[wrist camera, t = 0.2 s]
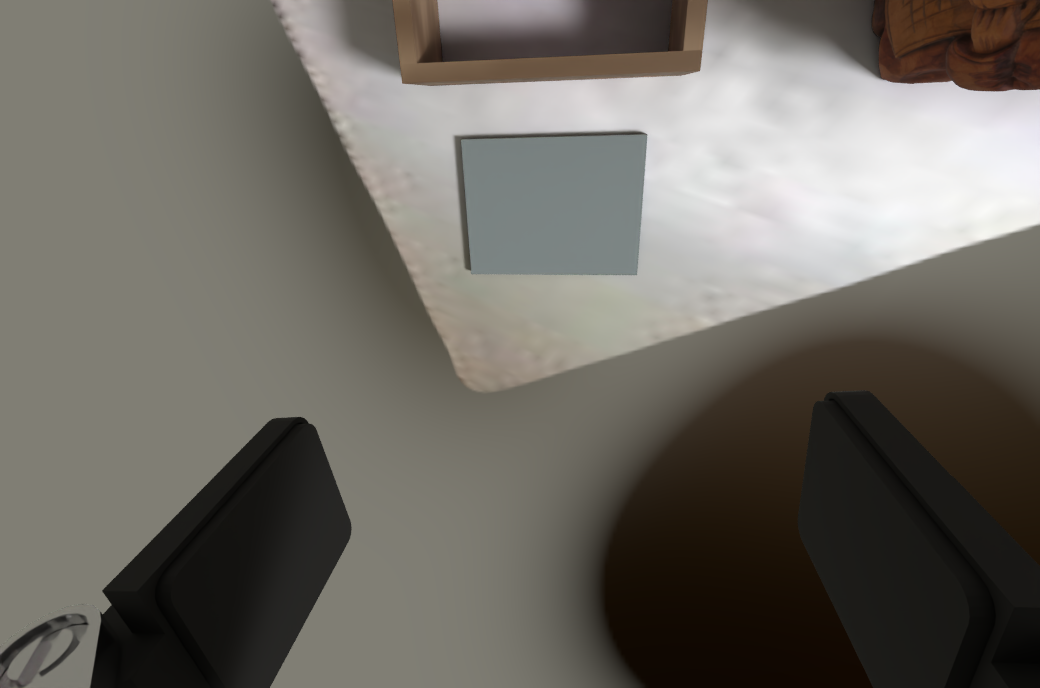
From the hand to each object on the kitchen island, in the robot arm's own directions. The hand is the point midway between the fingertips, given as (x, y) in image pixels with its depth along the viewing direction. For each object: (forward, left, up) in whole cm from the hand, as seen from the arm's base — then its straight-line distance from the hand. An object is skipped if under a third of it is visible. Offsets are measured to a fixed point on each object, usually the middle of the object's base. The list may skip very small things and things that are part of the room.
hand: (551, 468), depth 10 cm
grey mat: (+1, -2, -31) cm, 31 cm away
